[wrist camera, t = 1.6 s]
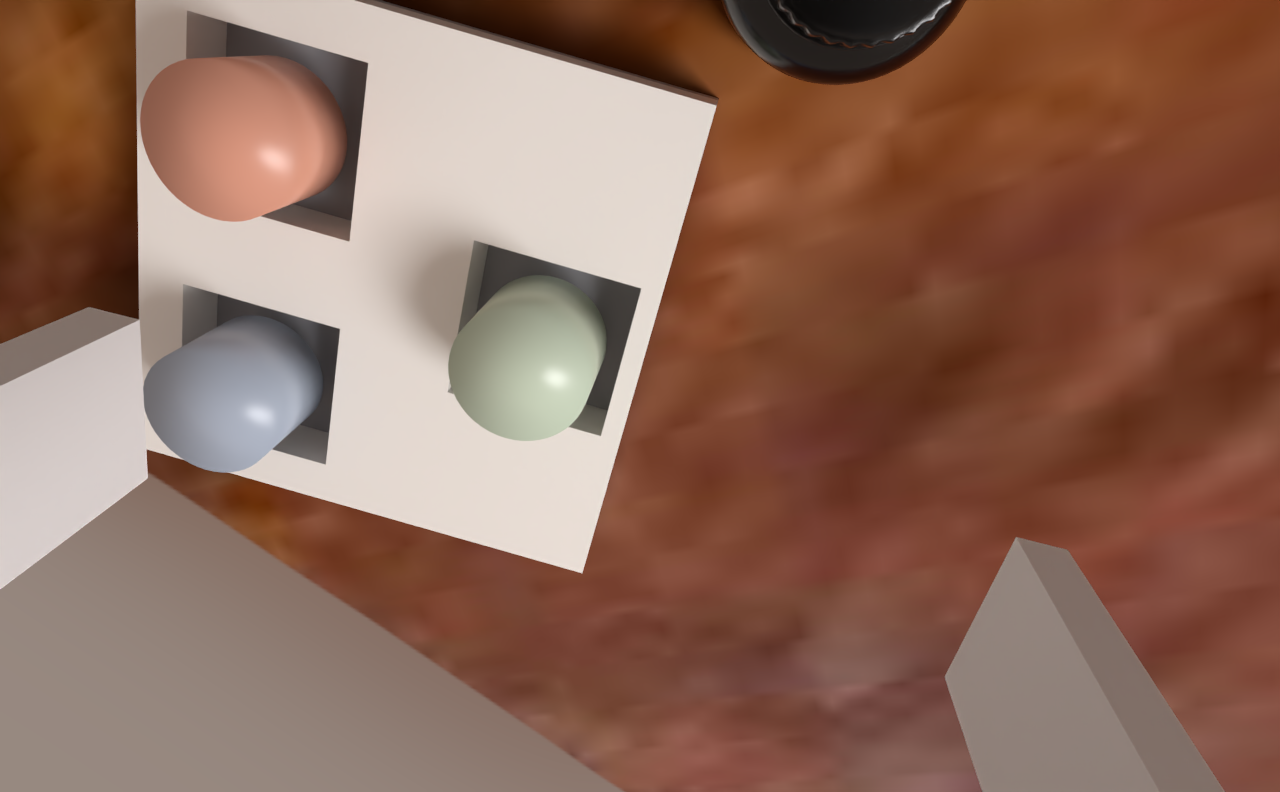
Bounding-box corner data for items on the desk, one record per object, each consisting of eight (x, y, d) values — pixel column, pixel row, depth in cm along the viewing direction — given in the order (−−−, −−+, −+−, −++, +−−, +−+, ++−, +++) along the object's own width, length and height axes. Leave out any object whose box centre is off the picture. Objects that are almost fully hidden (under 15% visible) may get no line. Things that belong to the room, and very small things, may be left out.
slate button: (208, 300, 32) (142, 334, 29) (328, 334, 32) (277, 372, 29) (205, 407, 34) (143, 451, 31) (317, 439, 34) (268, 487, 31)
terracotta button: (216, 37, 28) (139, 38, 24) (353, 77, 28) (297, 83, 24) (212, 178, 30) (140, 198, 27) (340, 215, 30) (286, 239, 27)
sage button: (493, 259, 30) (460, 289, 27) (620, 296, 30) (604, 331, 27) (471, 375, 32) (438, 418, 29) (590, 410, 32) (572, 457, 29)
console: (197, -53, 30) (134, -64, 26) (718, 98, 30) (716, 105, 27) (188, 413, 38) (140, 447, 35) (594, 529, 38) (582, 573, 35)
